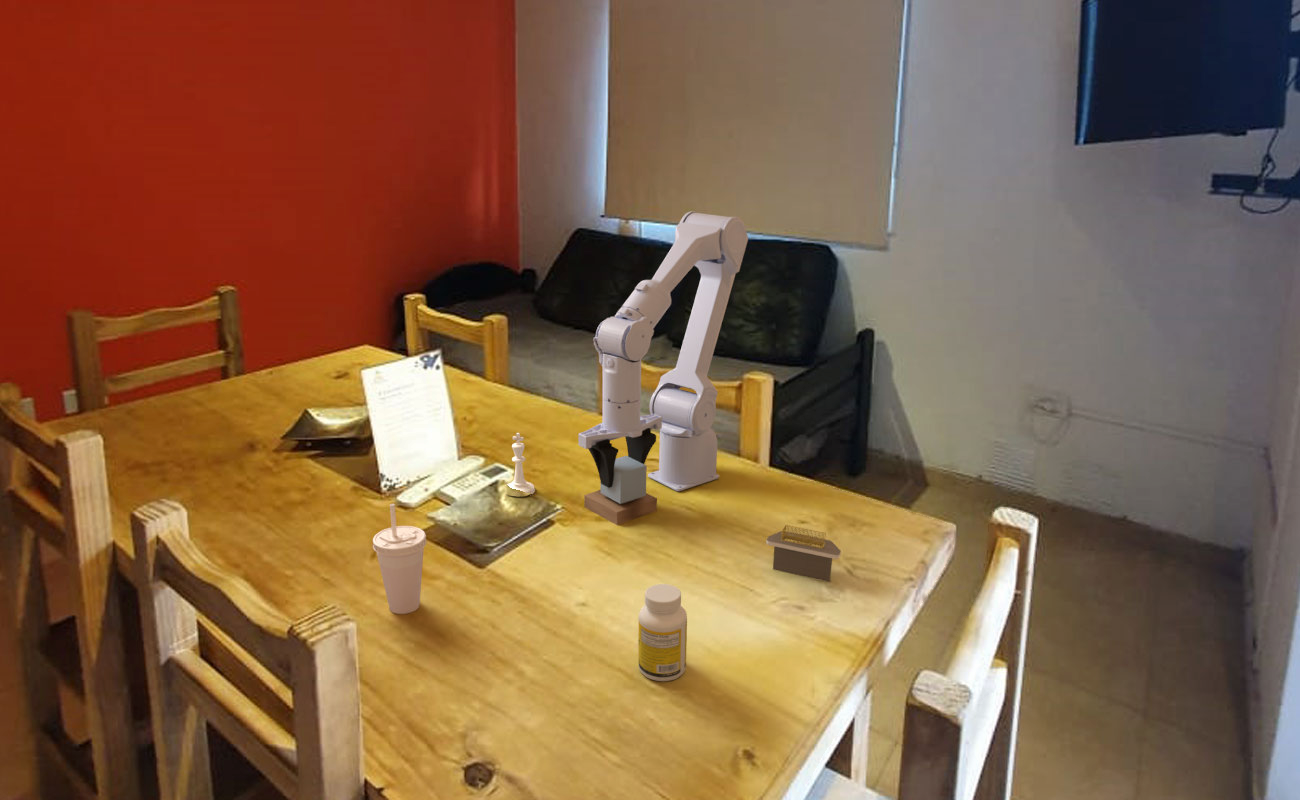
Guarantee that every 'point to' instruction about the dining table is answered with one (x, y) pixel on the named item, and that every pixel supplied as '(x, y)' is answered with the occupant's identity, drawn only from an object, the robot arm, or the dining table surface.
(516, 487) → the chess piece
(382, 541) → the smoothie
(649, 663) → the supplement bottle
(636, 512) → the walnut block
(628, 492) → the slate cube
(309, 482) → the dining table surface
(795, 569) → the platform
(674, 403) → the robot arm
